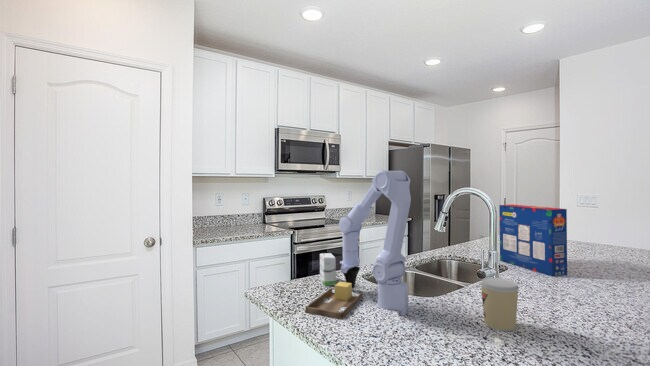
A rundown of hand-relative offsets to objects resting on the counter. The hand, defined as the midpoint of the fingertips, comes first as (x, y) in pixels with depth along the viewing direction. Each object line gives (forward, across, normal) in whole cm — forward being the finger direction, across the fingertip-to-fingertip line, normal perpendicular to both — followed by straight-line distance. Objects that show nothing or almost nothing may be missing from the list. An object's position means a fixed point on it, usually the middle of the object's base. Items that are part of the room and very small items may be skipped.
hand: (351, 287), depth 116 cm
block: (+1, +8, 0) cm, 8 cm away
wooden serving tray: (+2, +14, 0) cm, 14 cm away
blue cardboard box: (+2, -65, +64) cm, 91 cm away
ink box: (+2, -6, -12) cm, 14 cm away
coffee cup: (+2, +7, +47) cm, 48 cm away
